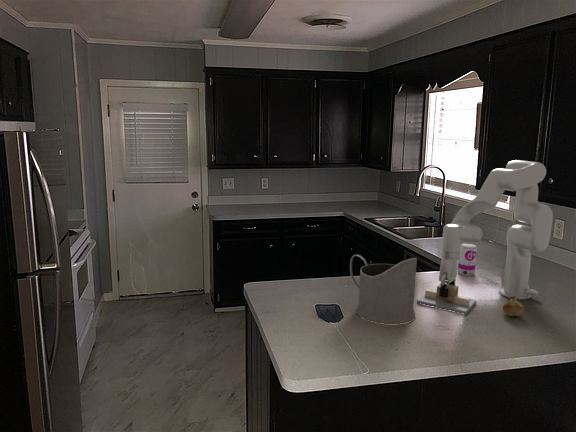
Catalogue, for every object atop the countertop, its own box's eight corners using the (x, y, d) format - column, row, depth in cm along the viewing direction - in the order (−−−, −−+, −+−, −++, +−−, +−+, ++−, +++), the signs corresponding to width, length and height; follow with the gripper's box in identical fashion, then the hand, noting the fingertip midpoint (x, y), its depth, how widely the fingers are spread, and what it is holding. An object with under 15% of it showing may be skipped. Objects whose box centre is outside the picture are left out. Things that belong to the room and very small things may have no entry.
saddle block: (457, 299, 200) (458, 286, 199) (452, 304, 195) (454, 290, 194) (440, 296, 204) (441, 282, 203) (435, 300, 199) (437, 286, 198)
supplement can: (477, 276, 237) (480, 247, 234) (460, 276, 237) (463, 246, 234) (471, 271, 245) (474, 243, 242) (455, 271, 245) (457, 242, 242)
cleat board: (475, 303, 200) (476, 294, 200) (465, 315, 188) (466, 305, 187) (429, 293, 212) (430, 284, 211) (416, 303, 199) (417, 294, 198)
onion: (496, 313, 190) (498, 294, 188) (512, 311, 193) (514, 292, 191) (511, 320, 183) (513, 301, 181) (527, 318, 186) (529, 298, 184)
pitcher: (388, 331, 172) (392, 264, 167) (329, 304, 196) (331, 245, 191) (427, 316, 186) (432, 254, 181) (367, 293, 210) (370, 238, 205)
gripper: (448, 248, 205) (444, 286, 208) (434, 257, 191) (431, 297, 194) (465, 251, 200) (462, 290, 204) (453, 260, 186) (449, 301, 190)
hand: (447, 293), depth 199 cm, fingers open, 9 cm apart
